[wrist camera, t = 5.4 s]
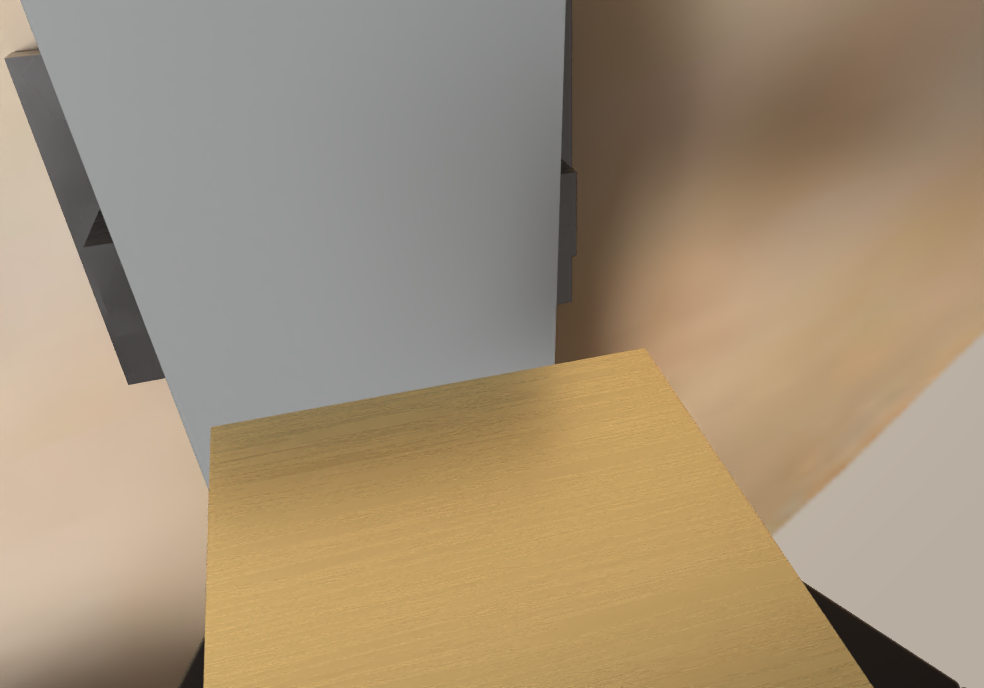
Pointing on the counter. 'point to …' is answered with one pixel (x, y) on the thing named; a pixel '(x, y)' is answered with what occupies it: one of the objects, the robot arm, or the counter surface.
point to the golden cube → (500, 545)
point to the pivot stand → (99, 245)
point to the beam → (321, 188)
